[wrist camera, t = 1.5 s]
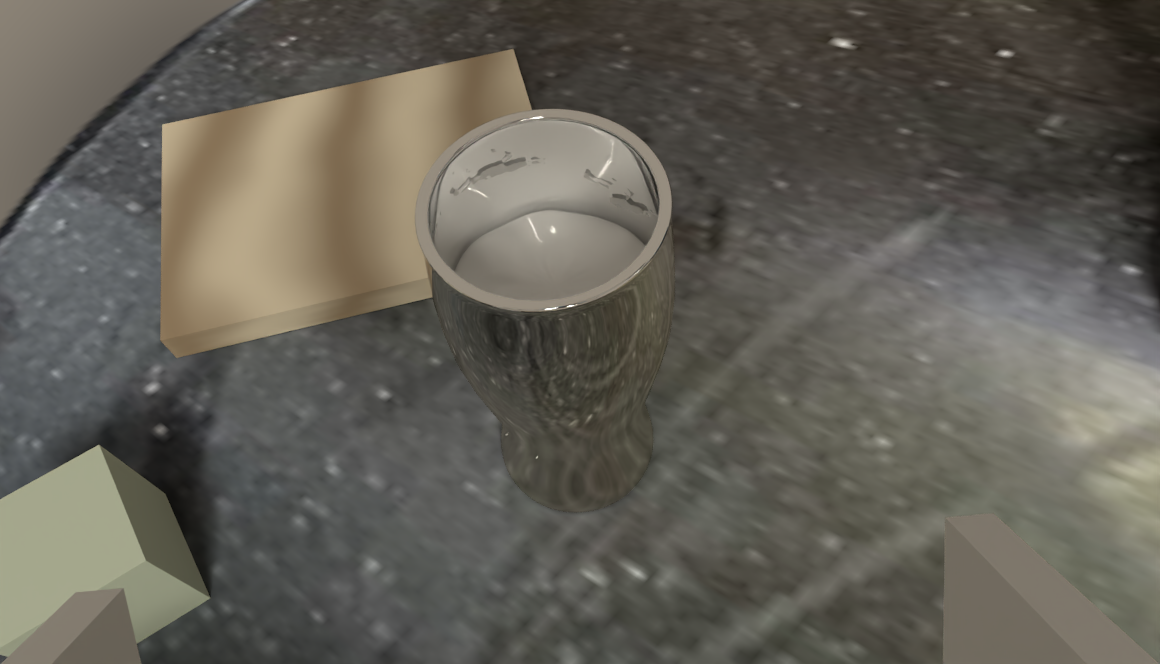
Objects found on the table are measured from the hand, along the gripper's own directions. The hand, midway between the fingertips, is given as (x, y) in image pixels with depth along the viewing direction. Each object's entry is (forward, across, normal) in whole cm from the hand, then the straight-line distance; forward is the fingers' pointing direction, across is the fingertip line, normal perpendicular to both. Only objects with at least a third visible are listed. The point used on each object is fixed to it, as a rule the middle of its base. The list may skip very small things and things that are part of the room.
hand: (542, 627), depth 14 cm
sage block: (+18, -17, -8) cm, 26 cm away
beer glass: (+20, 0, -5) cm, 21 cm away
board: (+30, -9, +5) cm, 32 cm away
